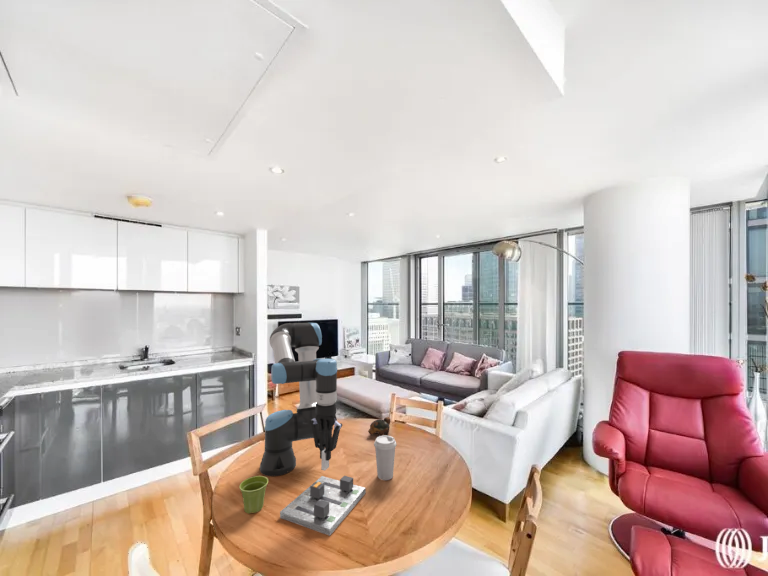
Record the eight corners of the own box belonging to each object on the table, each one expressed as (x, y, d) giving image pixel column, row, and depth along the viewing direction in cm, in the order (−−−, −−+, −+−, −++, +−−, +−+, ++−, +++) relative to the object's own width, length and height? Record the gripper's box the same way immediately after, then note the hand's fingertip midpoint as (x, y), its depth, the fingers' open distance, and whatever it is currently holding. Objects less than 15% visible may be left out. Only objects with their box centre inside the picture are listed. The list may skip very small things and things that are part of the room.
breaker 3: (339, 489, 117) (340, 479, 117) (344, 484, 120) (344, 475, 120) (349, 491, 116) (349, 482, 116) (353, 487, 118) (353, 477, 119)
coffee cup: (394, 483, 125) (394, 445, 126) (371, 481, 127) (371, 443, 128) (398, 471, 135) (398, 435, 135) (376, 468, 136) (376, 433, 137)
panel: (280, 517, 105) (280, 511, 105) (322, 481, 127) (322, 475, 127) (329, 535, 97) (329, 528, 97) (365, 493, 119) (365, 487, 119)
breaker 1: (310, 496, 113) (310, 485, 113) (315, 491, 116) (315, 480, 116) (319, 498, 111) (319, 487, 112) (324, 494, 114) (324, 483, 114)
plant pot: (250, 521, 104) (250, 494, 104) (233, 511, 109) (233, 485, 109) (273, 505, 112) (273, 480, 112) (256, 497, 117) (257, 473, 117)
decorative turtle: (395, 432, 175) (395, 418, 175) (376, 442, 164) (376, 427, 164) (383, 426, 182) (383, 413, 182) (364, 436, 171) (364, 422, 171)
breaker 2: (313, 515, 103) (313, 504, 103) (319, 510, 105) (319, 499, 106) (323, 518, 101) (324, 507, 101) (329, 513, 104) (329, 502, 104)
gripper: (305, 403, 113) (304, 469, 112) (335, 408, 108) (334, 478, 107) (317, 397, 120) (316, 459, 119) (346, 401, 115) (346, 467, 114)
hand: (325, 468), depth 113 cm, fingers closed
